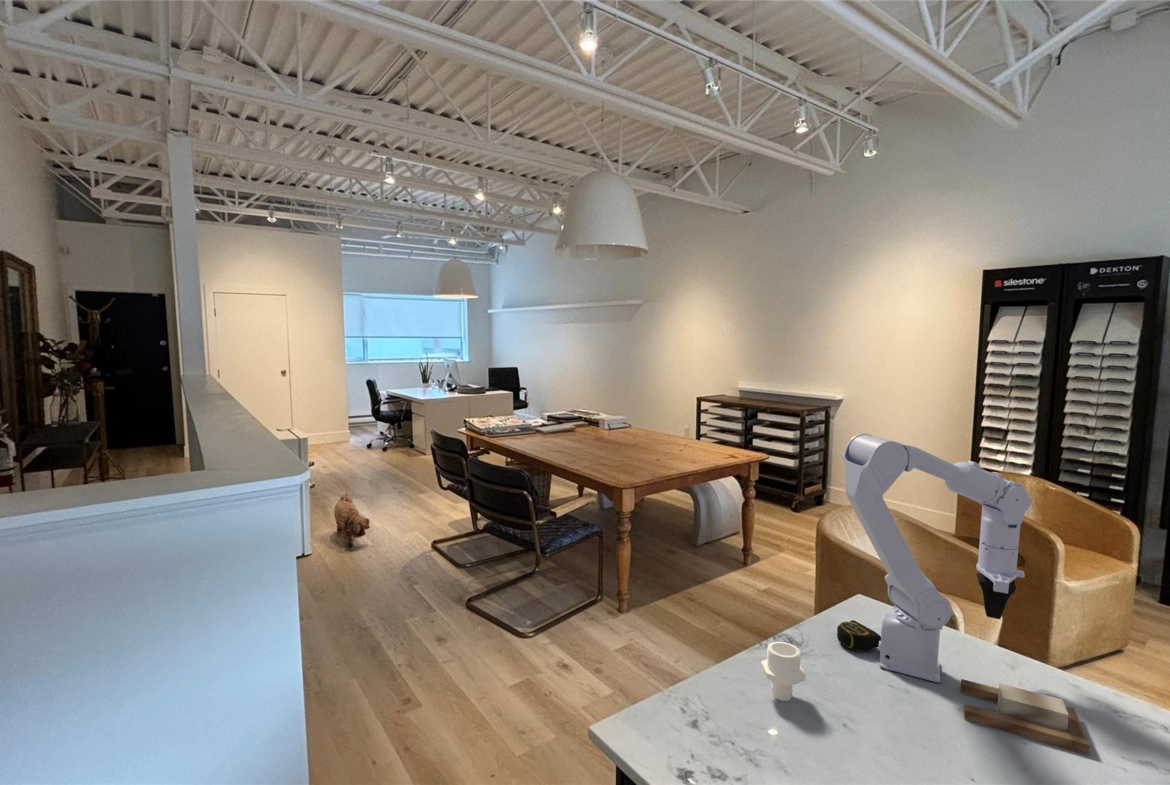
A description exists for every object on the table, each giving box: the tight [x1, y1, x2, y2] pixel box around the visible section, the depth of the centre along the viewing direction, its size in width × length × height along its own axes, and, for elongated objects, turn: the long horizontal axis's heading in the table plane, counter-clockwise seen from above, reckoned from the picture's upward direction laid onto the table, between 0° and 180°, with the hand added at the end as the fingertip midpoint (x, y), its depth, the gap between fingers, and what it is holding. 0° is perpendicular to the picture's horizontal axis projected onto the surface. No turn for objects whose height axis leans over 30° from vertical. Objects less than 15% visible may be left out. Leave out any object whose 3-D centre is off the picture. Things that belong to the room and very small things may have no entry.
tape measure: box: [836, 619, 881, 652], centre depth 111 cm, size 7×7×4 cm
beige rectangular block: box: [997, 682, 1069, 732], centre depth 89 cm, size 8×4×4 cm, turn 59°
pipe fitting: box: [760, 641, 807, 702], centre depth 95 cm, size 6×7×8 cm
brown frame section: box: [960, 678, 1091, 756], centre depth 90 cm, size 15×10×2 cm, turn 60°
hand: (992, 616), depth 104 cm, fingers closed
